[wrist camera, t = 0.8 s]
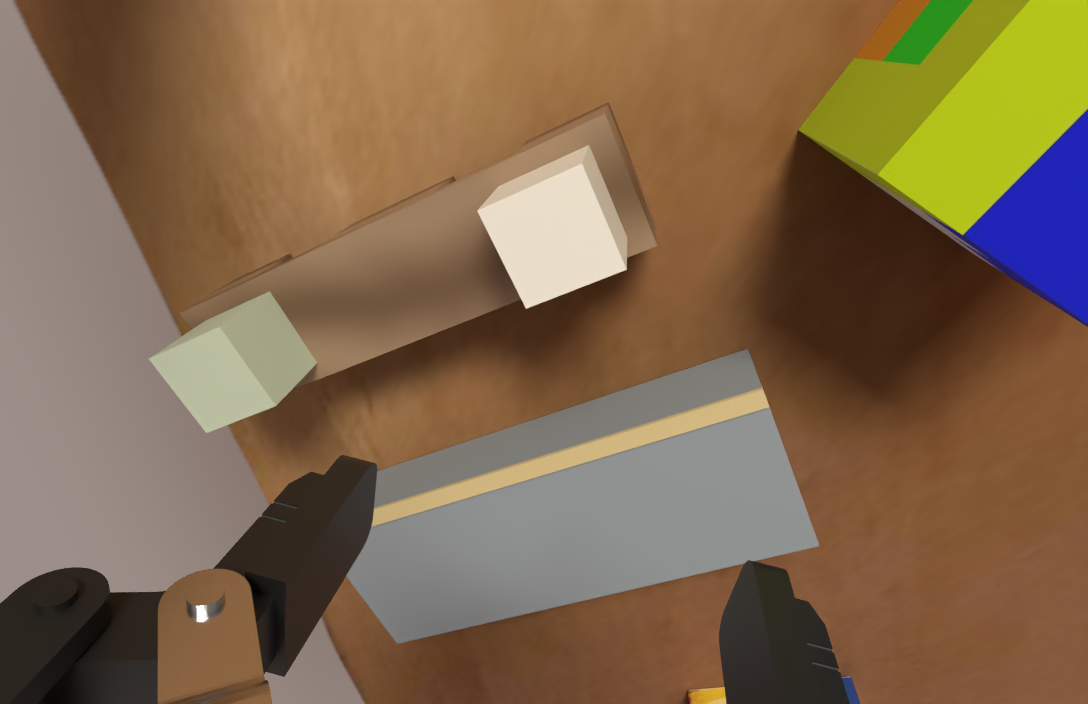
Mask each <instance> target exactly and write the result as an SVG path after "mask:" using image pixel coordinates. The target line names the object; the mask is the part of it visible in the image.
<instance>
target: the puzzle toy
mask: <svg viewBox="0 0 1088 704" xmlns="http://www.w3.org/2000/svg"><path fill="white" fill-rule="evenodd" d="M799 131H800V132H802V133H803V134H804V135H806V136H807V137H809V138H810V139H811V140H813V141H814V142H816V143H817V144H819V145H820V146H821V147H823V148H824V149H826V150H827V151H828V152H830V153H831V154H833V155H834V156H835V157H837V158H838V159H840V160H841V161H843V162H844V163H845V164H847V165H848V166H850V167H851V168H852V169H854V170H855V171H857V172H858V173H860V174H861V175H862V176H864V177H865V178H867V179H868V180H869V181H871V182H872V183H874V184H875V185H876V186H878V187H879V188H881V189H882V190H884V191H885V192H886V193H888V194H889V195H891V196H892V197H893V198H895V199H896V200H898V201H899V202H900V203H902V204H903V205H905V206H906V207H908V208H909V209H910V210H912V211H913V212H915V213H916V214H917V215H919V216H920V217H922V218H923V219H925V220H926V221H927V222H929V223H930V224H932V225H933V226H934V227H936V228H937V229H939V230H940V231H941V232H943V233H944V234H946V235H947V236H949V237H950V238H951V239H953V240H954V241H956V242H957V243H958V244H960V245H961V246H963V247H964V248H966V249H967V250H968V251H970V252H971V253H973V254H974V255H976V256H977V257H979V258H981V259H982V260H984V261H985V262H987V263H988V264H990V265H992V266H993V267H995V268H996V269H998V270H999V271H1001V272H1003V273H1004V274H1006V275H1007V276H1009V277H1010V278H1012V279H1014V280H1015V281H1017V282H1018V283H1020V284H1021V285H1023V286H1025V287H1026V288H1028V289H1029V290H1031V291H1032V292H1034V293H1036V294H1037V295H1039V296H1040V297H1042V298H1043V299H1045V300H1047V301H1048V302H1050V303H1051V304H1053V305H1054V306H1056V307H1058V308H1059V309H1061V310H1062V311H1064V312H1065V313H1067V314H1069V315H1070V316H1072V317H1073V318H1075V319H1076V320H1078V321H1080V322H1081V323H1083V324H1084V325H1086V326H1087V327H1088V0H899V1H898V3H897V4H896V5H895V6H894V8H893V9H892V10H891V12H890V13H889V14H888V15H887V17H886V18H885V19H884V21H883V22H882V23H881V24H880V26H879V27H878V28H877V30H876V31H875V32H874V33H873V35H872V36H871V37H870V39H869V40H868V41H867V42H866V44H865V45H864V46H863V48H862V49H861V50H860V51H859V53H858V54H857V55H856V57H855V58H854V59H853V60H852V62H851V63H850V64H849V66H848V67H847V68H846V69H845V71H844V72H843V73H842V74H841V76H840V77H839V78H838V80H837V81H836V82H835V83H834V85H833V86H832V87H831V89H830V90H829V91H828V92H827V94H826V95H825V96H824V98H823V99H822V100H821V101H820V103H819V104H818V105H817V107H816V108H815V109H814V110H813V112H812V113H811V114H810V116H809V117H808V118H807V119H806V121H805V122H804V123H803V125H802V126H801V127H800V128H799Z"/></svg>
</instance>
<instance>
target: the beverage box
mask: <svg viewBox="0 0 1088 704" xmlns="http://www.w3.org/2000/svg"><path fill="white" fill-rule="evenodd" d="M842 680H843V683H844V686H845V690H846V693H847V696H848V699H849V702H850V704H860V701H859V698H858V695H857V693H856V690H855V687H854V684H853V681H852V678H851V676H847V677H842ZM688 697H689V704H726V695H725V687H718V688H706V689H695V690H688Z"/></svg>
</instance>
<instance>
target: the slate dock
mask: <svg viewBox="0 0 1088 704" xmlns="http://www.w3.org/2000/svg"><path fill="white" fill-rule="evenodd" d="M817 546H819V543H818V541H817V538H816V535H815V532H814V529H813V527H812V524H811V521H810V518H809V516H808V513H807V510H806V507H805V504H804V502H803V499H802V496H801V493H800V491H799V488H798V485H797V482H796V480H795V477H794V474H793V471H792V468H791V466H790V463H789V460H788V457H787V455H786V452H785V449H784V446H783V443H782V441H781V438H780V435H779V432H778V430H777V427H776V424H775V421H774V418H773V416H772V413H771V410H770V407H769V405H768V402H767V399H766V396H765V393H764V391H763V388H762V385H761V383H760V380H759V377H758V375H757V372H756V369H755V367H754V364H753V361H752V359H751V356H750V353H749V351H748V349H745V350H742V351H739V352H736V353H733V354H730V355H727V356H724V357H721V358H718V359H715V360H712V361H709V362H706V363H703V364H700V365H697V366H694V367H691V368H688V369H685V370H682V371H679V372H676V373H673V374H670V375H667V376H664V377H660V378H657V379H654V380H651V381H648V382H645V383H642V384H639V385H636V386H633V387H630V388H627V389H624V390H621V391H618V392H615V393H612V394H609V395H606V396H603V397H600V398H597V399H594V400H591V401H588V402H585V403H582V404H579V405H576V406H573V407H570V408H567V409H564V410H561V411H558V412H555V413H552V414H549V415H546V416H543V417H540V418H537V419H533V420H530V421H527V422H524V423H521V424H518V425H515V426H512V427H509V428H506V429H503V430H500V431H497V432H494V433H491V434H488V435H485V436H482V437H479V438H476V439H473V440H470V441H467V442H464V443H461V444H458V445H455V446H452V447H449V448H446V449H443V450H440V451H437V452H434V453H431V454H428V455H425V456H422V457H419V458H416V459H413V460H410V461H406V462H403V463H400V464H397V465H394V466H391V467H388V468H385V469H382V470H379V471H377V479H376V490H375V501H374V512H373V521H372V526H371V530H370V533H369V536H368V539H367V541H366V543H365V545H364V547H363V549H362V551H361V552H360V554H359V556H358V557H357V559H356V561H355V562H354V564H353V565H352V567H351V569H350V570H349V572H348V574H347V575H346V577H347V578H348V579H349V581H350V582H351V583H352V585H353V586H354V587H355V589H356V590H357V591H358V593H359V594H360V595H361V597H362V598H363V599H364V600H365V602H366V603H367V604H368V606H369V607H370V608H371V610H372V611H373V612H374V614H375V615H376V616H377V618H378V619H379V620H380V622H381V623H382V624H383V626H384V627H385V628H386V630H387V631H388V632H389V634H390V635H391V636H392V638H393V639H394V640H395V642H396V643H397V644H399V643H403V642H407V641H412V640H416V639H420V638H425V637H429V636H433V635H438V634H442V633H446V632H451V631H455V630H459V629H463V628H468V627H472V626H476V625H481V624H485V623H489V622H494V621H498V620H502V619H507V618H511V617H515V616H519V615H524V614H528V613H532V612H537V611H541V610H545V609H550V608H554V607H558V606H563V605H567V604H571V603H576V602H580V601H584V600H588V599H593V598H597V597H601V596H606V595H610V594H614V593H619V592H623V591H627V590H632V589H636V588H640V587H644V586H649V585H653V584H657V583H662V582H666V581H670V580H675V579H679V578H683V577H688V576H692V575H696V574H700V573H705V572H709V571H713V570H718V569H722V568H726V567H731V566H735V565H739V564H744V563H746V561H748V560H751V561H757V560H761V559H765V558H769V557H774V556H778V555H782V554H787V553H791V552H795V551H800V550H804V549H808V548H813V547H817Z"/></svg>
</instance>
